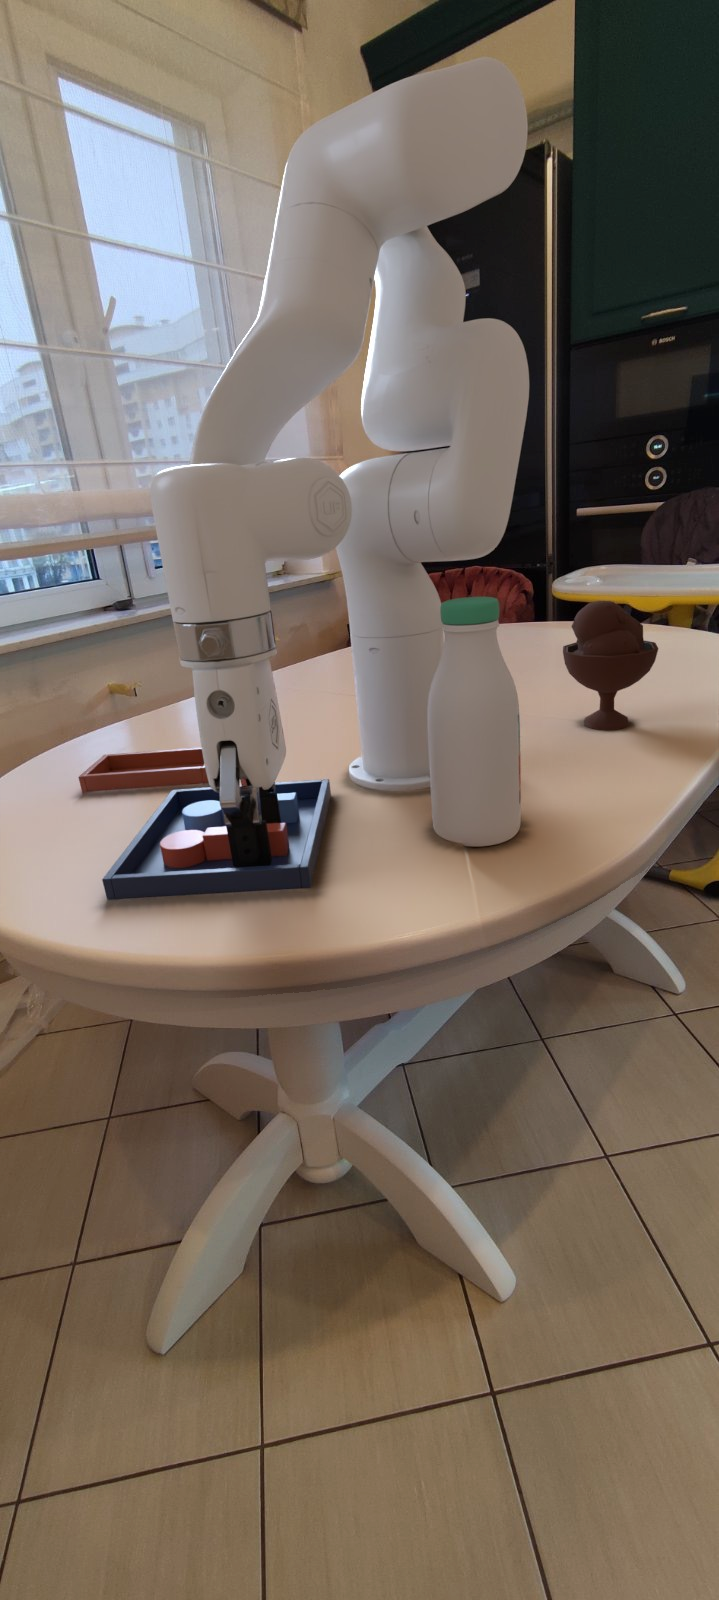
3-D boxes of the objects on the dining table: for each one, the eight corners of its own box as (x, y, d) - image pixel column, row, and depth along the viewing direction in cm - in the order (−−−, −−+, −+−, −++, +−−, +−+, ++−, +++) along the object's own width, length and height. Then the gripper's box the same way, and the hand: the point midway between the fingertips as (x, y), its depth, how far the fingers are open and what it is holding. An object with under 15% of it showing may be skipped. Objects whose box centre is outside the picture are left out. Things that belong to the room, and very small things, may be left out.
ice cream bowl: (642, 740, 83) (650, 606, 77) (547, 731, 89) (548, 606, 83) (663, 715, 91) (671, 592, 85) (575, 709, 97) (577, 593, 91)
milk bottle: (520, 849, 60) (519, 603, 53) (428, 849, 62) (414, 609, 54) (520, 812, 67) (519, 590, 60) (437, 813, 69) (426, 596, 61)
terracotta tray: (225, 763, 89) (222, 745, 88) (210, 786, 81) (207, 767, 81) (108, 772, 90) (104, 754, 89) (82, 795, 83) (77, 776, 82)
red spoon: (291, 841, 65) (287, 816, 64) (285, 862, 61) (281, 836, 60) (171, 849, 65) (166, 825, 64) (157, 869, 62) (152, 844, 61)
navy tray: (331, 799, 74) (329, 778, 74) (311, 893, 56) (308, 866, 56) (176, 810, 76) (172, 789, 75) (108, 904, 58) (101, 879, 57)
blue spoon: (300, 810, 71) (297, 788, 70) (295, 827, 67) (292, 803, 66) (191, 818, 72) (186, 795, 71) (180, 835, 68) (175, 811, 67)
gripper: (254, 657, 48) (288, 897, 55) (289, 619, 64) (312, 809, 70) (143, 666, 48) (191, 903, 55) (205, 627, 64) (236, 814, 71)
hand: (259, 848), depth 63 cm, fingers open, 5 cm apart
